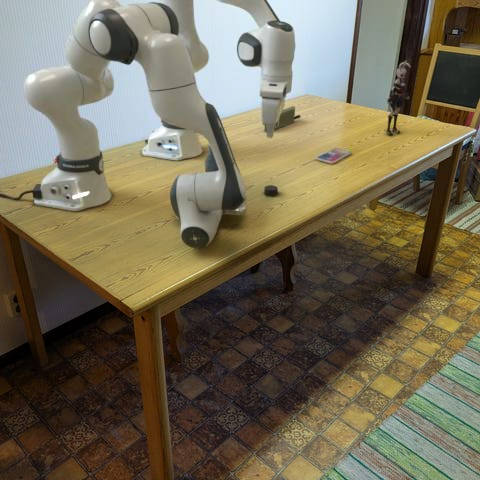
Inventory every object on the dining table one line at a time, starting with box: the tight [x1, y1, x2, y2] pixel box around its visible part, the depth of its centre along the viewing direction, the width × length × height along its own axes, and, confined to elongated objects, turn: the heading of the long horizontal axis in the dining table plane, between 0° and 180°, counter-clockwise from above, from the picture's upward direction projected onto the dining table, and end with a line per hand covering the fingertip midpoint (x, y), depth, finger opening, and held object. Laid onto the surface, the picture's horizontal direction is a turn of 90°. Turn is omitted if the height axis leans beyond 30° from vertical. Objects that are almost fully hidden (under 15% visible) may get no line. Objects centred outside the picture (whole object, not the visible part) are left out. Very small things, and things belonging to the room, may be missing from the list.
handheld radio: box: [264, 105, 301, 133], centre depth 221 cm, size 7×3×25 cm
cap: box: [264, 184, 279, 197], centre depth 158 cm, size 4×4×2 cm
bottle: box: [204, 144, 219, 172], centre depth 146 cm, size 5×5×19 cm
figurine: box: [385, 60, 412, 137], centre depth 207 cm, size 15×6×30 cm, turn 132°
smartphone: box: [315, 147, 352, 165], centre depth 188 cm, size 7×1×15 cm
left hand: (214, 189), depth 149 cm, fingers open, 6 cm apart
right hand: (272, 131), depth 149 cm, fingers open, 8 cm apart
